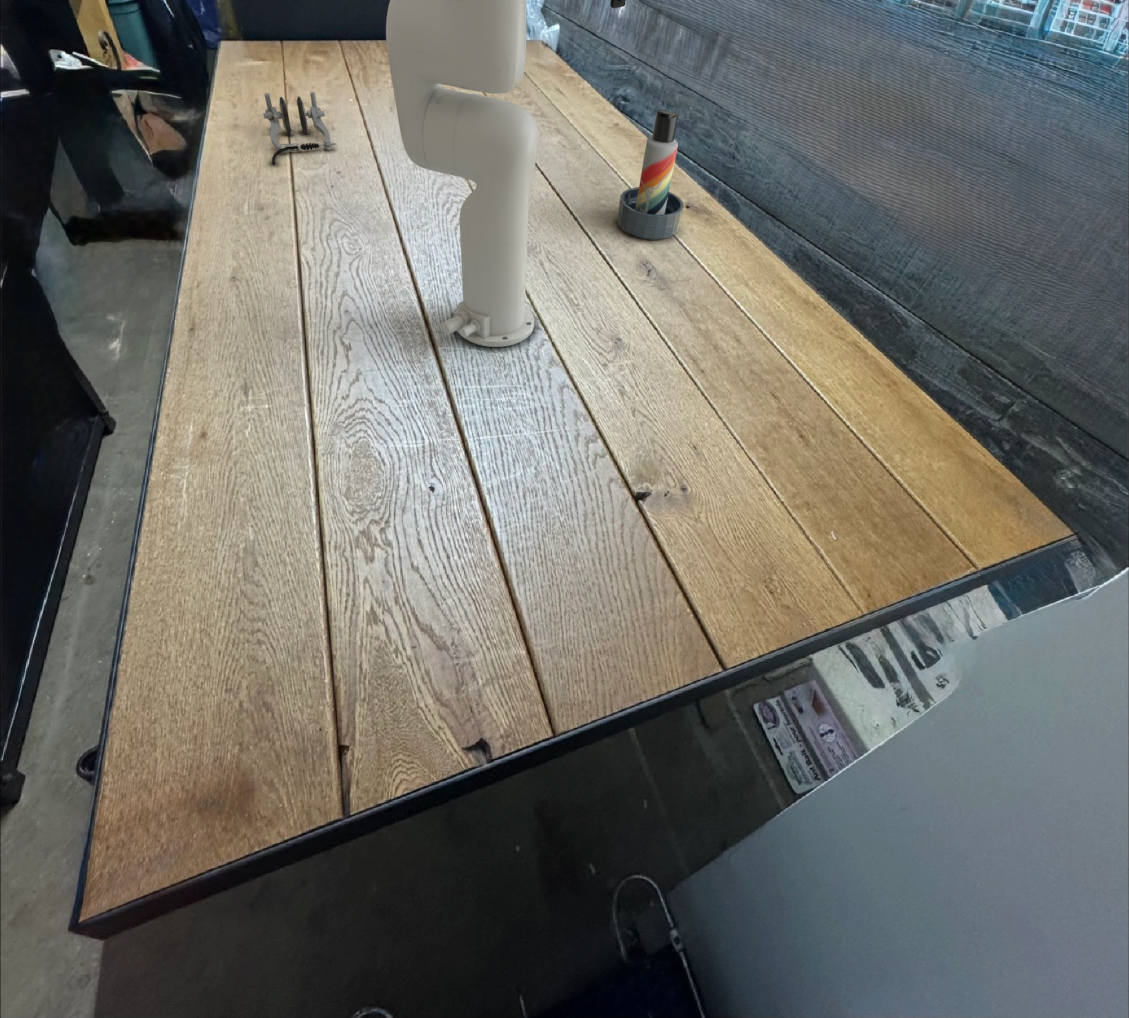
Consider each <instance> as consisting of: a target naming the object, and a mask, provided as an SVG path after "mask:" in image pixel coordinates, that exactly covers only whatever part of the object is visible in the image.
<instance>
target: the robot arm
mask: <svg viewBox="0 0 1129 1018" xmlns="http://www.w3.org/2000/svg"><path fill="white" fill-rule="evenodd" d="M626 2H627V0H610V5H609V6H610V7H611V8H612V9H618V8H619V9H620V8H622V7H625V6H626ZM386 13H387V14H386V19H385V20H386V22H385V40H386V41H385V42H386V50H387V60H388V65H389V71H390V78H391V83H392V90H393V96H394V101H395V102H394V103H395V108H396V114H397V119H398V125H399V126H398V127H399V132H400V137H401V142H402V145H403V148H404V151H405V154H406V155H407V157H408V159H409V160H410V161H411V162H412V163H413V164H414V165H416V166H417V167H420V168H422V169H425V170H428V171H431V172H436V173H441V174H444V175H445V174H446V175H449V176H454V177H458V178H461V179H465V180H469V181H471V182H473V183H474V184H475V188H474V189H473V190H472V191H471V192H470V193H469V195H467V196H466V198H465V200H464V201H463V202H462V204H461V207H460V210H459V219H458V220H459V221H458V222H459V236H460V237H459V239H460V260H461V281H462V284H461V285H462V286H461V287H462V301H460V302H459V303H458V305H457V309H456V310H455V312H454V315H453V317H451V318H449V319H447V320H445V321H443V322H441V323H440V330H441V332H442V333H443V334H444V335H445V336H449V335H451V334H453V333H455V332H457V333H458V334H459V336H460V337H462V338H463V339H465V340H467V341H468V342H470V343H472V344H475V345H478V346H483V347H489V348H503V347H509V346H514V345H517V344H518V343H521V342H523V341H525V340H526V339H528V338H529V336H531V334H532V333H533V331H534V328H535V318H534V314H533V312H532V311H531V310H530V309H529V308H528V306H527V305H526V293H527V292H526V291H527V290H526V289H527V268H528V267H527V264H528V242H529V241H528V240H529V238H528V237H529V236H528V235H529V215H530V214H529V213H530V200H531V191H532V189H531V188H532V184H533V179H534V178H533V177H534V172H535V168H536V167H535V166H536V162H537V157H538V152H539V145H540V131H539V126H538V124H537V121H536V119H535V118H534V116H533V115H532V114H531V113H530V111H528V110H527V109H526V108H524V107H523V106H521V105H519V104H517V103H515V102H512V101H509V100H506V99H502V98H496V97H492V96H488V95H483V94H478V93H469V92H466V91H460V90H455V89H450V88H445V87H443V86H450V87H454V88H459V89H462V90H468V91H472V92H479V93H484V94H494V95H502V94H508V93H511V92H513V91H514V90H516V89H517V87H518V86H520V85H521V82H522V80H523V78H524V74H525V70H526V60H527V0H389V4H388V7H387V12H386Z"/></svg>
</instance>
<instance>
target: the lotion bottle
mask: <svg viewBox="0 0 1129 1018" xmlns="http://www.w3.org/2000/svg"><path fill="white" fill-rule="evenodd" d="M678 120H679V113H677V112H672V111H669V110H665V109H658V110H657V111H656V115H655V121H654V126H653V132H652V135H651V136H649V137H648V138H647V139H646V143H645V149H644V155H643V162H642V166H641V173H640V178H639V179H640V180H639V186H638V187H639V191H638V197H637V203H636V209H635V210H636V211H639V212H642V213H646V214H653V215H664V214H665V209H666V204H667V198H668V193H669V192H670V188H671V183H672V178H673V173H674V167H675V163H676V158H677V153H678V147H679V143H678V141H677V140H676V139H675V136H676V131H677V126H678Z"/></svg>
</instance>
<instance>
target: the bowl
mask: <svg viewBox="0 0 1129 1018" xmlns="http://www.w3.org/2000/svg"><path fill="white" fill-rule="evenodd" d="M638 191H639V186H635V187H631V188H628V189H626V190H624V191H623V192H622V193H621V194H620V195H619V202H618V208H617V209H618V210H617V218H616V223H617V225H618V226H619V228H621V229H622V230H623V231H624V232H626V233H627V234H629V235H631V236H633V237H636V238H639V239H642V240H643V239H644V240H653V241H656V240H657V241H658V240H663V239H667V238H670V237H673V236H674V235H676V234H677V233H678V231H679V229H680V226H681V221H682V216H683V211H684V202H683V200H682V199H681V198H680V197H679V196H678V195H676V194H675V193H673V192H670V191H669V193H668V198H667V204H666V209H665V214H664V215H653V214H646V213H642V212H639V211H636V210H635V209H636V203H637V197H638Z"/></svg>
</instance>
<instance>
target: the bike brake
mask: <svg viewBox="0 0 1129 1018" xmlns="http://www.w3.org/2000/svg"><path fill="white" fill-rule="evenodd" d="M309 94H310V100H311V106H310V107H309V110H306V108H305V105H304V103H303V100H302V98H301V96H299V95H298V96H297V99H296V106H297V110H298V115H299V117H298V118H299V121H300V127H301V130H302V132H303V133H304V134H305V135H307V134H309V133H308V131H309V125H308V119H311V120H312V123H313V126H314V129H316V130H317V131H318V132H319V133H321V134H322V136H323V137H324V140H323V141H322V144H319V143H317V142H312V143H311V142H306V143H302V144H300V145H299V143H298V142H296V143H295V142H293V143H280V142H279V140H278V136H279V134H280V132H281V131H282V127H281V123H280V120H282V125H283V127H284V130H285V132H286V134H287V135H288V136H291V132H292V128H291V123H290V119H289V118H290V117H289V113H288V108H287V103H286V101H285V99H284V98H283V96H280V97H279V111H277V107H276V106H273V104H272V100H271V94H270V93H269V92H265V93H264V100H265V102H266V103H265V104H266V108H267V109H265V110H264V112H263V113H262V115H263V118H264V119H266V120H268V121H269V122H270V129H269V131H270V132H269V135H270V141H271V143H272V145H273V147H274V149H275V152H274V154H273V155H272V157H271V163H272V165H274V166H275V165H276V158H277V157H278V156H279V155H280V154H281V153H290V152H291V153H292V152H300V151H301V150H303V151H306V150H307V151H312V150H314V149H319V148H320V147H323V148H324V149H325V150H326V151H331V149H332V146H336V145H337V143H336V142H333V143H332V141H331V136H330V131H329V129H328V128H327V126H326V125H325V123H324V122H323V119H322V117H325V116H326V115H325V111H324V110H322V109H321V108H320V107H319V106H318V103H317V97H316V93H315V92H314V91H310V93H309Z"/></svg>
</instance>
